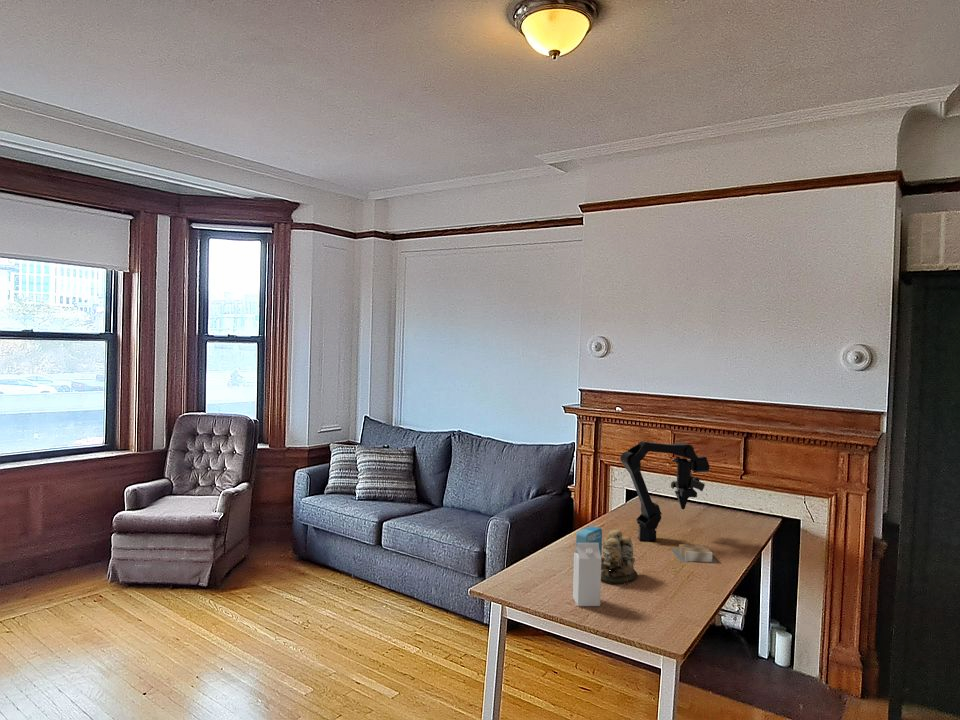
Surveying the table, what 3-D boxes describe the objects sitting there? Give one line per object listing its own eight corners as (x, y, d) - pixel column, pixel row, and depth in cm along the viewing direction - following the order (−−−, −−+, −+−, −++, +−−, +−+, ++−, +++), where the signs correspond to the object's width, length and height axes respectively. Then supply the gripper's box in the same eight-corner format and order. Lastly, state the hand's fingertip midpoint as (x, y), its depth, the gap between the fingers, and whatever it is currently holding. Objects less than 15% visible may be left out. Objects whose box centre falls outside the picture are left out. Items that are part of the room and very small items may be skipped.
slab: (678, 553, 254) (685, 560, 245) (679, 544, 254) (685, 551, 245) (704, 553, 254) (712, 561, 244) (704, 545, 253) (712, 552, 244)
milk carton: (572, 597, 208) (574, 539, 207) (594, 597, 208) (595, 539, 208) (577, 606, 200) (579, 546, 200) (600, 606, 201) (601, 546, 201)
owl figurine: (620, 589, 216) (621, 539, 216) (590, 581, 224) (590, 532, 223) (644, 575, 230) (645, 527, 230) (615, 567, 237) (615, 521, 237)
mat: (680, 563, 244) (680, 561, 244) (670, 550, 259) (670, 549, 259) (718, 564, 243) (718, 562, 243) (705, 551, 258) (705, 550, 258)
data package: (585, 566, 238) (586, 534, 238) (575, 563, 241) (576, 531, 241) (601, 558, 247) (602, 527, 247) (591, 555, 250) (592, 525, 250)
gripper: (710, 477, 264) (709, 515, 264) (696, 469, 283) (695, 504, 283) (682, 477, 265) (681, 514, 265) (671, 468, 283) (670, 503, 284)
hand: (682, 509), depth 274 cm, fingers closed
